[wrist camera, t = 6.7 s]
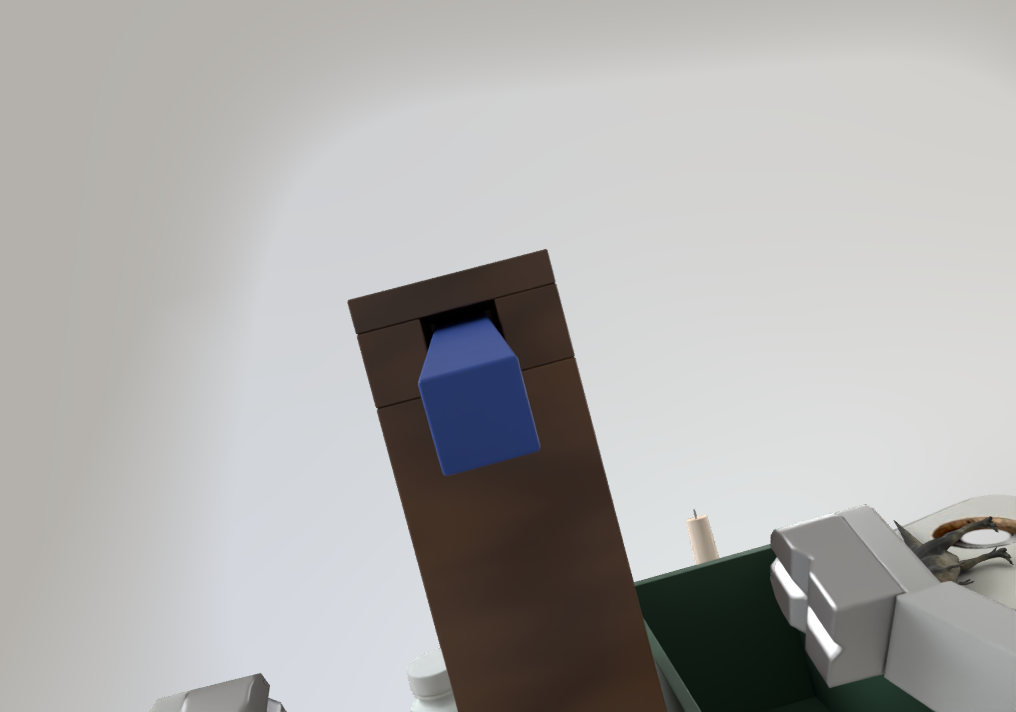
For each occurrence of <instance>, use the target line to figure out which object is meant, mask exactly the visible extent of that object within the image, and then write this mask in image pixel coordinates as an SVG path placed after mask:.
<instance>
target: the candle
mask: <svg viewBox="0 0 1016 712" xmlns="http://www.w3.org/2000/svg"><path fill="white" fill-rule="evenodd" d="M694 515H695V517H693V518H690V519H687V520H686V523H687V528H688V532H689V538H690V542H691V547H692V550H693V555H694V559H695V563H696V565H698V564H701V563H705V562H708V561H712V560H716V559H719V556H718V552H717V548H716V545H715V541H714V538H713V534H712V531H711V528H710V524H709V521H708V518H707V516H706V515H704V516H698V517H697V516H696V512H695V510H694Z"/></svg>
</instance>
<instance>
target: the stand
mask: <svg viewBox="0 0 1016 712" xmlns="http://www.w3.org/2000/svg"><path fill="white" fill-rule="evenodd" d="M348 306H349V310H350V314H351V317H352V321H353V325H354V328H355V332H356V334H358V335H357V339H358V343H359V347H360V350H361V354H362V358H363V362H364V365H365V369H366V372H367V376H368V380H369V384H370V388H371V391H372V395H373V399H374V402H375V406H376V408H378V409H377V413H378V417H379V421H380V425H381V428H382V432H383V436H384V440H385V443H386V447H387V451H388V454H389V458H390V462H391V466H392V469H393V473H394V477H395V480H396V484H397V488H398V491H399V495H400V499H401V502H402V506H403V510H404V514H405V518H406V521H407V525H408V529H409V532H410V536H411V540H412V543H413V547H414V551H415V555H416V558H417V562H418V565H419V569H420V573H421V577H422V581H423V584H424V588H425V592H426V596H427V599H428V603H429V607H430V610H431V614H432V618H433V622H434V625H435V629H436V633H437V636H438V640H439V644H440V648H441V651H442V655H443V659H444V662H445V666H446V670H447V674H448V677H449V681H450V685H451V688H452V692H453V696H454V700H455V703H456V707H457V711H458V712H667V708H666V705H665V701H664V697H663V693H662V689H661V685H660V681H659V678H658V674H657V670H656V666H655V662H654V658H653V655H652V651H651V647H650V643H649V639H648V635H647V631H646V628H645V624H644V620H643V616H642V612H641V608H640V604H639V601H638V597H637V593H636V589H635V585H634V581H633V577H632V574H631V570H630V566H629V562H628V558H627V554H626V551H625V547H624V543H623V539H622V536H621V532H620V527H619V524H618V520H617V516H616V512H615V508H614V504H613V500H612V497H611V493H610V490H609V485H608V481H607V478H606V473H605V470H604V466H603V462H602V458H601V455H600V450H599V447H598V443H597V439H596V435H595V431H594V427H593V424H592V420H591V416H590V412H589V408H588V404H587V400H586V396H585V393H584V389H583V385H582V381H581V377H580V373H579V369H578V366H577V362H576V358H575V357H574V356H575V354H574V350H573V347H572V342H571V338H570V335H569V331H568V327H567V323H566V319H565V315H564V312H563V308H562V304H561V300H560V296H559V292H558V289H557V285H556V284H555V277H554V273H553V269H552V265H551V262H550V258H549V254H548V250H546V249H544V250H540V251H536V252H533V253H529V254H525V255H521V256H517V257H513V258H509V259H506V260H502V261H498V262H494V263H490V264H486V265H482V266H478V267H474V268H471V269H467V270H463V271H459V272H455V273H451V274H447V275H443V276H440V277H436V278H432V279H428V280H424V281H420V282H417V283H413V284H409V285H405V286H401V287H397V288H393V289H389V290H385V291H381V292H378V293H374V294H370V295H366V296H362V297H358V298H354V299H350V300H348ZM478 310H483V311H484V313H485V314H486V315H487V317H488V318H489V319H490V321H491V322H492V324H493V325H494V326H495V328H496V329H497V330H498V332H499V333H500V334H501V336H502V337H503V339H504V340H505V341H506V343H507V344H508V345H509V347H510V348H511V350H512V351H513V352H514V354H515V355H516V356H517V358H518V360H519V364H520V368H521V372H522V376H523V380H524V384H525V388H526V392H527V396H528V400H529V403H530V407H531V411H532V415H533V419H534V423H535V427H536V431H537V435H538V439H539V443H540V450H539V451H537V452H535V453H531V454H527V455H523V456H520V457H516V458H512V459H509V460H505V461H501V462H498V463H494V464H490V465H487V466H483V467H479V468H475V469H472V470H468V471H464V472H461V473H457V474H453V475H450V476H445V475H444V474H443V473H442V470H441V466H440V462H439V459H438V455H437V452H436V448H435V444H434V441H433V437H432V434H431V430H430V426H429V423H428V419H427V416H426V412H425V408H424V405H423V401H422V398H421V394H420V390H419V387H418V381H419V378H420V375H421V371H422V368H423V365H424V362H425V359H426V356H427V353H428V349H429V346H430V343H431V340H432V337H433V334H434V331H435V327H436V324H437V322H438V321H440V320H443V319H447V318H451V317H455V316H459V315H463V314H466V313H470V312H474V311H478Z"/></svg>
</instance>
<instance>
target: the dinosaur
mask: <svg viewBox="0 0 1016 712" xmlns="http://www.w3.org/2000/svg"><path fill="white" fill-rule="evenodd" d="M991 520H992V517H991V516H990V517H989V518H986V519H984V520H982V521H978V522H975V523H970V524H967V525H965V526H964V527H962V528H961V529H958V530H956V531H952V532H949V533H947V534H945V535H944V536H943V537H941V538H937V539H934V540H931V541H929V542H927V543H925V544H922V543H921V542H920V541H918V540H917V539H916V538H915V537H914V536H912V535H911V534H910V533H909V532H908V531H906V530H905V529H904V528H903V527H902V526H900V525H899V524H898V523H897V522H896V521H895V520H894V522H895V524H896V525H897V527H898V529H899V531H900V533H901V535H902V537H903V538H904V541H905V543H906V545H907V546H908V547H909V548H910V549H911V551H912V552H913V553H914V554H915V555H916V556H917V557H918V558H919V559H920V561H921V562H922V563H923V564H924V565H925V566H926V567H927V568H928V569H929V570H930V572H931V573H932V574H933V575H934V576H935V577H936V578H937V579H938V580H939V582H940V583H943V582H948V581H952V582H954V583H956V582H957V578H958V575H959V573H960V572H962V571H965V570H968V569H970V568H972V567H973V566H975V565H976V564H978V563H980V562H982V561H985V560H988V559H991V558H996V557H1002V558H1004V559H1006V560H1008V561H1009V562H1010V564H1012V561H1011V560H1010V558H1011V557H1010V555H1009V554H1008V553H1007V552H1005V551H1007V549H1006V548H1001V549H999V550H997V551H996V549H997V547H996V548H995V549H994V550H993V551H992V552H990V553H988V554H983V555H981V556H979V557H977V558H972V559H968V560H962V561H959V558H958V557H957V556H956V555H954V554H952V553H950V552H948V551H947V550H948V548H949V547H950V546H952V545H953V544H954V543H955V542H957V541H958V540H959V539H960V538H961V537H962V536H963V535H964V534H965V533H967V532H968V531H970V530H973V529H974V528H977V527H986V526H987V527H986V528H988V527H990V528H992V529H994V530H995V531H996V532H998V530H997V528H996V527H998V526H996V524H994V523H993V522H992V521H991ZM1012 565H1014V564H1012ZM968 581H970V579H969V580H967V581H965V582H959V583H956V584H959V585H967V584H970V583H973V582H974V581H972V582H968ZM967 582H968V583H967Z"/></svg>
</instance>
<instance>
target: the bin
mask: <svg viewBox="0 0 1016 712" xmlns="http://www.w3.org/2000/svg"><path fill="white" fill-rule="evenodd" d="M776 558H777V556H776V555H775V553H774V551H773V550H772V548H771V547H770V544H769V545H766V546H762V547H758V548H755V549H751V550H748V551H744V552H741V553H737V554H733V555H730V556H727V557H723V558H719V559H716V560H712V561H708V562H705V563H701V564H698V565H694V566H691V567H687V568H684V569H680V570H676V571H673V572H669V573H666V574H662V575H659V576H655V577H652V578H648V579H645V580H641V581H637V582H634V585H635V589H636V593H637V597H638V601H639V604H640V608H641V612H642V616H643V620H644V624H645V628H646V631H647V635H648V639H649V643H650V647H651V651H652V655H653V658H654V662H655V666H656V670H657V674H658V678H659V681H660V685H661V689H662V693H663V697H664V701H665V705H666V708H667V712H935V711H933V710H932V709H930V708H929V707H927V706H926V705H924V704H923V703H921V702H920V701H919V700H917V699H916V698H914V697H913V696H911V695H910V694H908V693H907V692H905V691H904V690H902V689H901V688H899V687H898V686H896V685H895V684H893V683H892V682H890V681H889V680H887V679H886V678H884V674H882V675H878V676H874V677H871V678H867V679H863V680H859V681H855V682H851V683H847V684H843V685H839V686H835V687H832V688H829V687H828V685H827V684H826V682H825V680H824V679H823V677H822V676H821V674H820V672H819V671H818V669H817V668H816V666H815V664H814V663H813V661H812V660H811V658H810V656H809V655H808V653H807V652H806V650H805V644H806V633H804V632H802V631H800V630H798V629H797V628H795V627H793V626H791V625H790V624H789V622H788V621H787V619H786V617H785V616H784V614H783V612H782V610H781V608H780V606H779V604H778V602H777V600H776V598H775V594H774V590H773V587H772V583H771V573H770V566H771V564H772V563H773V562H774V560H775V559H776Z"/></svg>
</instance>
